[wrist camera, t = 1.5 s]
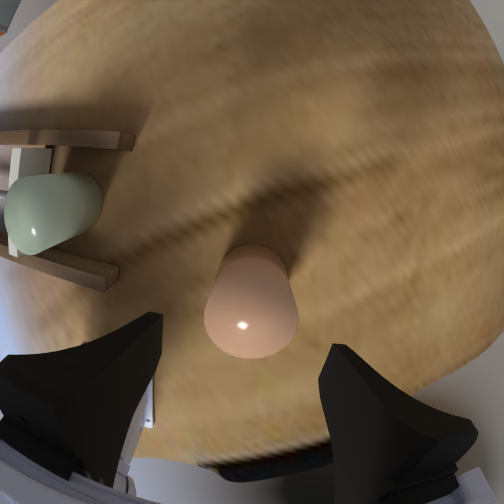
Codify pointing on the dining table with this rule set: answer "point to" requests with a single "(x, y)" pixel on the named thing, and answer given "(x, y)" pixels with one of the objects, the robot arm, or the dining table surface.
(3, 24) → the alarm clock
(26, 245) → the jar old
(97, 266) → the lane
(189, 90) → the dining table surface
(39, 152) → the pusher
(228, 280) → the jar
